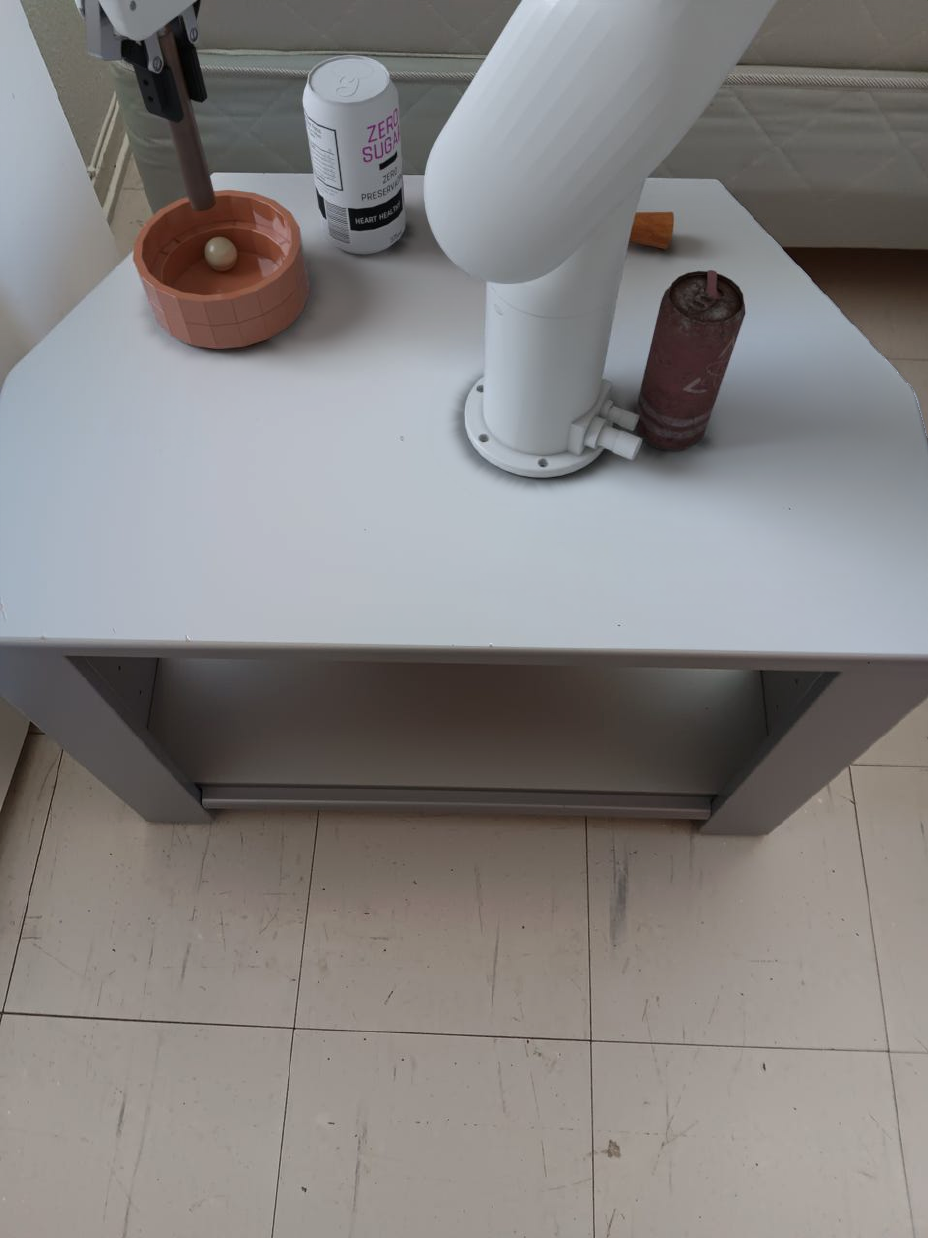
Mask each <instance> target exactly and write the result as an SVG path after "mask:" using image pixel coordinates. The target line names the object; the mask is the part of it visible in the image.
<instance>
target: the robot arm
mask: <svg viewBox="0 0 928 1238" xmlns="http://www.w3.org/2000/svg"><path fill="white" fill-rule="evenodd" d="M778 1H779V0H521V1H520V2H519V4H518V5H517V7H516V9H515V11H514V12H513V13H512V15H511V17H510V18H509V20H508V21H507V23H506V25H505V26H504V28H503V30H502V31H501V33H500V34H499V36H498V37H497V40H496V41H495V43H494V44H493V46H492V48H491V49H490V50H489V52H488V53H487V56H486V57H485V59H484V61H483V62H482V64H481V65H480V67H479V69H478V71H477V72H476V74H475V75H474V77H473V78H472V79H471V82H470V84H469V85H468V87H467V88H466V90H465V91H464V93H463V95H462V96H461V98H460V100H459V101H458V103H457V105H456V106H455V108H454V110H453V111H452V113H451V115H450V116H449V118H448V120H447V121H446V122H445V124H444V126H443V127H442V129H441V131H440V133H439V134H438V136H437V138H436V139H435V142H434V144H433V146H432V148H431V150H430V153H429V156H428V158H427V162H426V166H425V171H424V177H423V200H424V209H425V213H426V217H427V221H428V225H429V227H430V230H431V232H432V234H433V236H434V238H435V240H436V242H437V244H438V246H439V247H440V248H441V250H442V251H443V253H444V254H445V255H446V256H447V258H448V259H449V260H450V261H451V262H452V263H453V264H454V265H456V266H457V267H458V268H459V269H461V270H462V271H464V272H465V273H467V274H468V275H470V276H472V277H474V278H477V279H479V280H482V281H485V282H486V289H485V290H486V292H485V321H484V322H485V323H484V330H485V331H484V359H483V362H484V363H483V375H482V377H480V379H478V380H477V381H476V383H474V385H473V386H472V388H471V390H470V391H469V392H468V396H467V398H466V401H465V406H464V427H465V430H466V433H467V437H468V439H469V441H470V442H471V444H472V446H473V448H474V449H475V450H476V451H477V452H478V453H479V454H480V456H481V457H483V458H484V459H485V460H487V461H488V462H489V463H491V464H492V465H494V466H496V467H497V468H499V469H501V470H504V471H505V472H509V473H512V474H514V475H517V476H522V477H530V478H553V477H561V476H564V475H568V474H571V473H574V472H577V471H578V470H580V469H583V468H585V467H587V466H588V465H590V463H592V462H593V461H595V459H596V460H597V458H598V457H599V456H600V455H601V454H602V452H603V451H604V450H605V449H606V450H608V451H611V452H612V453H613V454H615V455H618V456H620V457H623V458H625V459H628V460H630V461H634V460H635V458H636V457H637V455H638V453H639V451H640V449H641V445H642V442H643V438H642V437H641V436H637V435H635V434H632V433H631V432H630V433H629V432H627V431H625V430H622V429H621V430H619V429H617V428H615V427H614V426H613V425H614V424H617V425H618V426H619V427H622V428H625V429H627V430H630V431H634V430H635V429H636V425H637V422H638V420H639V415H637V414H635V412H633V411H630V410H628V409H622V408H620V407H617V406H615V402H614V401H613V400H611V399H610V398H611V397H610V396H611V392H612V386H613V383H612V382H611V381H609V380H606V379H603V378H604V373H605V368H606V367H605V366H606V361H607V357H608V351H609V345H610V339H611V335H612V328H613V324H614V319H615V313H616V307H617V303H618V298H619V297H618V296H619V291H620V286H621V283H622V278H623V275H624V274H623V273H624V267H625V262H626V258H627V252H628V247H629V243H630V241H629V238H630V234H631V229H632V225H633V221H634V217H635V214H636V212H637V210H638V206H639V203H640V199H641V196H642V192H643V189H644V186H645V182H646V179H648V177H649V176H651V174H652V173H653V172H654V171H655V170H656V169H657V168H658V167H659V166H660V165H661V163H663V161H664V160H665V159H666V158H667V157H668V156H669V155H670V154H671V153H672V151H673V150H674V149H675V148H676V147H677V145H678V144H679V143H680V142H681V141H682V140H683V138H685V136H686V135H687V134H688V132H689V131H690V130H691V129H692V127H693V126H694V125H695V124H696V122H697V121H698V120H699V118H700V117H701V116H702V115H703V114H704V112H705V110H706V109H707V108H708V106H709V105H710V103H711V102H712V101H713V99H714V98H715V96H716V95H717V93H718V92H719V91H720V89H721V87H722V86H723V85H724V83H725V82H726V81H727V79H728V77H729V76H730V75H731V74H732V72H733V70H734V69H735V67H736V66H737V64H738V63H739V61H740V60H741V59H742V57H743V55H744V54H745V52H746V51H747V50H748V48H749V47H750V45H751V43H752V41H753V40H754V39H755V37H756V35H757V34H758V32H759V31H760V29H761V27H762V25H763V24H764V22H765V21H766V18H767V17H768V16H769V14H770V13H771V11H772V10H773V8H774V7H775V6H776V4H777V3H778ZM74 2H75V6H76V8H77V10H78V13H79V15H80V16H81V19H82V20H83V21H84V23H85V34H86V35H85V37H86V38H85V39H86V50H87V53H88V55H90V56H91V57H93V58H97V59H99V60H101V61H105V62H112V61H123V62H124V63H126V64H128V65H131V66H132V67H133V71H134V74H135V77H136V80H137V84H138V87H139V90H140V94H141V97H142V100H143V104H144V107H145V109H146V111H147V112H148V113H149V114H151V115H154V116H157V117H159V118H162V119H165V120H166V119H167V120H170V121H173V122H176V123H179V122H180V121H182V120H183V119H184V113H183V109H182V105H181V101H180V97H179V94H178V90H177V86H176V82H175V79H174V75H173V71H172V69H171V67H169V66H167V65H164V63H163V58H162V54H161V50H160V46H159V42H158V38H157V34H156V32H157V31H158V30H160V29H161V28H162V27H164V26H165V25H166V24H168V23H169V24H170V25H171V27H172V29H173V33H174V37H175V41H176V45H177V49H178V53H179V57H180V61H181V64H182V68H183V72H184V76H185V80H186V84H187V88H188V92H189V96H190V100H191V101H194V102H197V103H204V102H205V101H206V100H207V99H208V93H207V89H206V85H205V81H204V76H203V72H202V68H201V67H202V66H201V63H200V58H199V54H198V51H197V47H196V46H195V45H196V44H197V43H198V42H199V39H200V29H199V28H200V27H199V26H198V25H199V24H198V16H199V12H200V9H201V8H200V7H201V2H202V0H74ZM139 43H140V44H139Z"/></svg>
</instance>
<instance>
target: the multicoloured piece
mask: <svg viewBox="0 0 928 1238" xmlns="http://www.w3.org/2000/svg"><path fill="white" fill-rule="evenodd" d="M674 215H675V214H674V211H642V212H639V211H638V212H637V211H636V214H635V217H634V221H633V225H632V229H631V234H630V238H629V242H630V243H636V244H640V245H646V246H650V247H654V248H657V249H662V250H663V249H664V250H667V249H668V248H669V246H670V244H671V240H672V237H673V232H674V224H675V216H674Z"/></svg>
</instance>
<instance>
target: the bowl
mask: <svg viewBox="0 0 928 1238" xmlns="http://www.w3.org/2000/svg"><path fill="white" fill-rule="evenodd" d="M214 193H215V197H216V204H215V206H214V207H213V208H211V209H209V210H206V211H198V210H195V209H193V208H192V207H191V205H190V202H189V199H188V196H184V197H182V198H179V199H178V200H175V201H174V202H172V203H170V204H168V205H166V206H164V207H163V208H160V209H159V210H157V212H155V213H154V214H153V215H152V216H151V217H150V218H149V219H148V220H147V221H146V222H145V223H144V224H143V225H142V226H141V229H140V230H139V232H138V234H137V236H136V238H135V239H134V241H133V251H132V261H133V264H134V267H135V269H136V272H137V274H138V277H139V280H140V283H141V285H142V288H143V291H144V293H145V296H146V298H147V301H148V303H149V306H150V309H151V311H152V313H153V316H154V318H155V320H156V322H157V324H158V326H159V327H161V328H162V329H163V330H164V331H165V332H167V334H169V335H170V336H171V337H172V338H175V339H177V340H179V341H182V342H183V343H184V342H185V343H186V344H189V345H191V346H194V347H200V348H207V349H216V350H222V349H234V348H244V347H247V346H251V345H254V344H258V343H260V342H263V341H266V340H268V339H271V338H272V337H274V336H275V335H277V334H279V333H281V332H282V331H284V330H285V329H287V328H289V327H290V326H291V324H293V322H294V321H296V319H297V318H298V317H299V315H300V314H301V313H302V312H303V311H304V308H305V306H306V303H307V301H308V298H309V296H310V279H309V273H308V266H307V260H306V256H305V250H304V244H303V238H302V232H301V227H300V226H299V224H298V222H297V221H296V219H295V217H294V216H293V214H292V213H291V212H290V210H288V209H287V208H286V207H284V205H281V203H279V202H277V201H276V200H275V199H272V198H270V197H266V196H264V195H261V194H259V193H256V192H251V191H244V190H243V191H242V190H235V189H223V190H214ZM215 237H224V238H227V239H228V240H230V241H231V242H232V243H233V244H234V246H235V247H236V250H237V261H236V263H235V265H234V266H233V267H232V268H231V269H229V270H227V271H218V270H215V269H213V268H212V267H211V266H210V265H209V264H208V263H207V261H206V259H205V255H204V250H205V246H206V244H207V243H208V241H209V240H211V239H212V238H215Z"/></svg>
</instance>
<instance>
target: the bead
mask: <svg viewBox="0 0 928 1238" xmlns="http://www.w3.org/2000/svg"><path fill="white" fill-rule="evenodd" d="M204 255H205V259H206V261H207V263H208V264H209V265H210V266H211V267H212V268H213V269H215V270H218V271H227V270H229V269H231V268H232V267H233V266H234V265H235V263H236V261H237V250H236V247H235V246H234V244H233V243H232V242H231V241H230V240H228V239H227V238H224V237H215V238H212V239H211V240H209V241H208V243H207V244H206V246H205V250H204Z"/></svg>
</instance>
